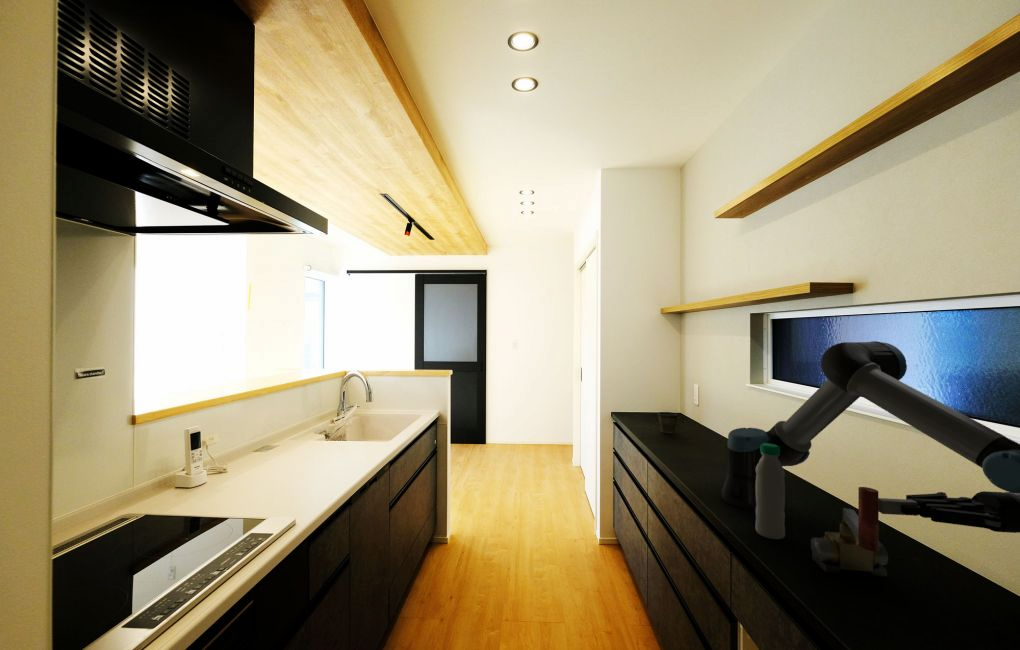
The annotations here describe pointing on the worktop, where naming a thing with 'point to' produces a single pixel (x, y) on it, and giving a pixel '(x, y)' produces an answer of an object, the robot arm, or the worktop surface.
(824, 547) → the valve body
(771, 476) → the water bottle
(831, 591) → the worktop surface
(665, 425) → the ceramic cup
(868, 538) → the valve lever
